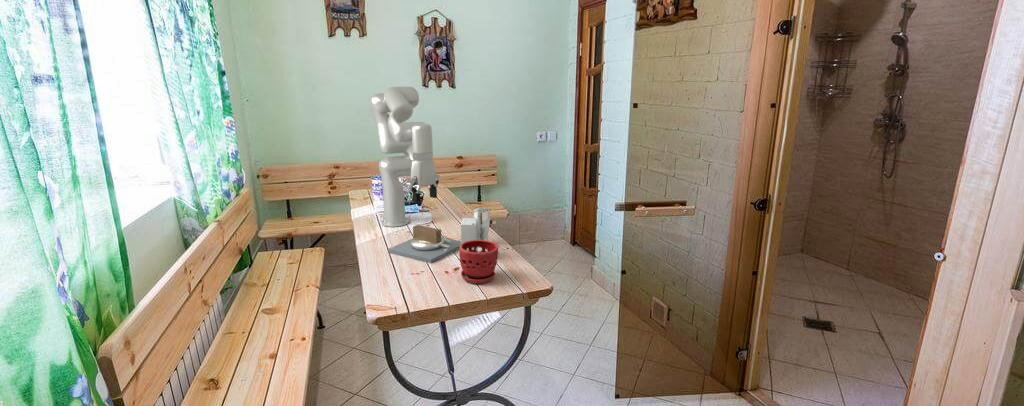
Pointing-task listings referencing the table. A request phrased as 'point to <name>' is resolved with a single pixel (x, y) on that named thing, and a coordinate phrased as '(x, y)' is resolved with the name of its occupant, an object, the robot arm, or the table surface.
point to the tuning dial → (427, 238)
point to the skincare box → (469, 230)
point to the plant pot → (478, 261)
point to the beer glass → (482, 222)
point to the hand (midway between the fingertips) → (425, 200)
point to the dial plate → (425, 256)
